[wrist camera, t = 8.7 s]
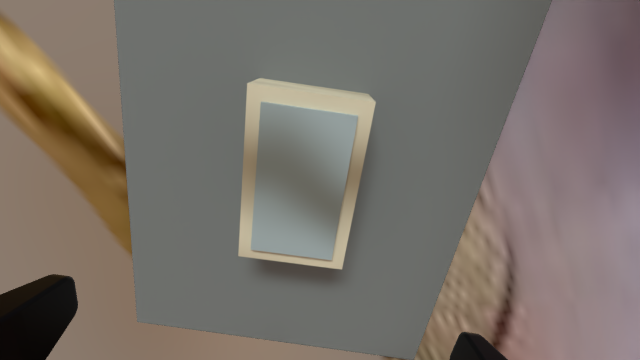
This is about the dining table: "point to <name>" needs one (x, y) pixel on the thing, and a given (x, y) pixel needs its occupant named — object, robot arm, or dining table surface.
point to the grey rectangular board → (377, 173)
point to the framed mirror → (301, 171)
